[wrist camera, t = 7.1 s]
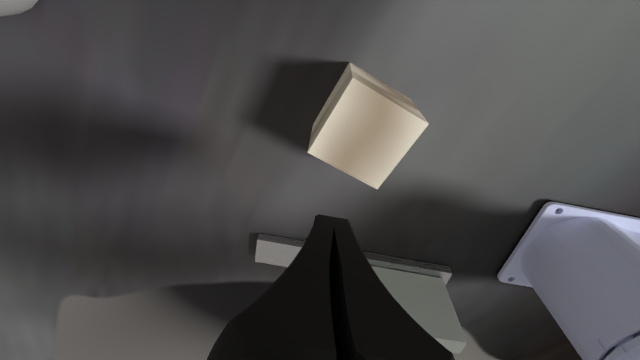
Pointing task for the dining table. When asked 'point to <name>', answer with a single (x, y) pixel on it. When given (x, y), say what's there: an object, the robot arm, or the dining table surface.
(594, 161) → the dining table surface
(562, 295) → the robot arm
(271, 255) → the rail
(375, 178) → the letter block
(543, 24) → the dining table surface
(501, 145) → the dining table surface
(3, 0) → the cup
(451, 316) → the grey flat block
